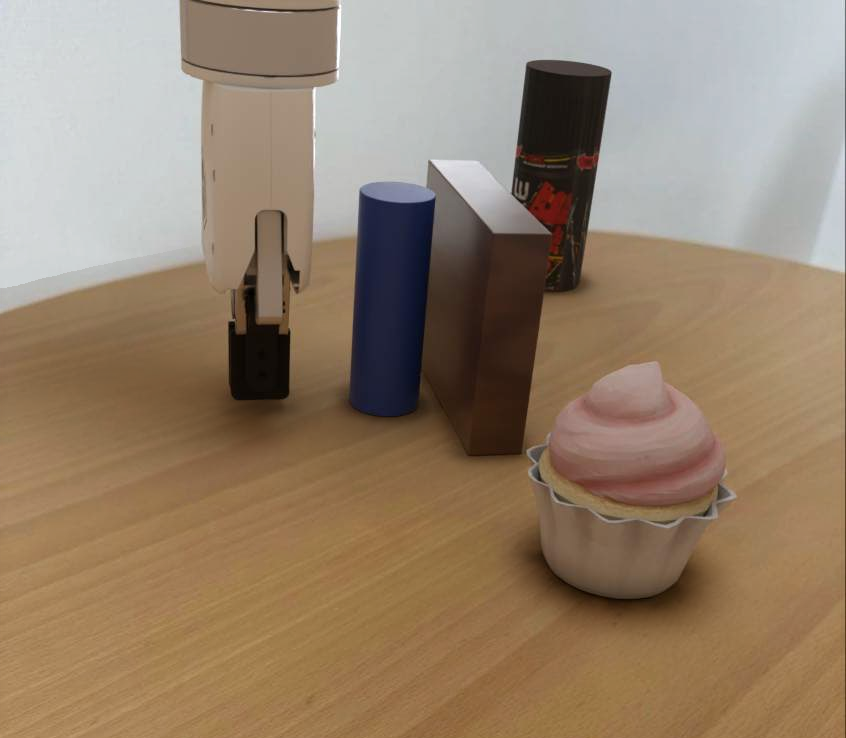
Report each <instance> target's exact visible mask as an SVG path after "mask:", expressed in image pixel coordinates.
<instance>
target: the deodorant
mask: <svg viewBox="0 0 846 738" xmlns="http://www.w3.org/2000/svg"><path fill="white" fill-rule="evenodd" d="M612 75H613V73H612V70H611V69H609V68H607V67H604V66H601V65H597V64H591V63H587V62H586V63H585V62H581V61H573V60H562V59H561V60H560V59H536V60H535V59H534V60H529V61H527V62H526V64H525V72H524V78H523V79H524V80H523V89H522V96H521V105H520V114H519V122H518V131H517V138H516V139H517V140H516V147H515V148H516V149H515V158H514V165H513V173H512V183H511V192H510V193H511V194H512V195H513V196H514V197H515V198H516V199H517V200H518V201H519V202H520V203H521V204H522V205H523V206H524V207H525V208H526V209H527V210H528V211H529V212H530V213H531V214H532V215H533V216H534V217H535V218H536V219H537V220H538V221H539V222H540V223H541V224H542V225H543V226H544V227H545V228H546V229H547V230H548V231H549V232H550V233H551V234H552V240H551V247H550V254H549V261H548V268H547V276H546V283H545V290H544V292H549V293H550V292H551V293H553V292H555V293H558V292H567V291H571V290H574V289H576V288H577V287H579V285H580V282H581V276H582V270H583V263H584V257H585V250H586V243H587V237H588V230H589V224H590V218H591V213H592V212H591V211H592V205H593V199H594V191H595V185H596V178H597V172H598V166H599V159H600V152H601V147H602V139H603V134H604V126H605V120H606V115H607V106H608V101H609V94H610V87H611V81H612Z"/></svg>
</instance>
